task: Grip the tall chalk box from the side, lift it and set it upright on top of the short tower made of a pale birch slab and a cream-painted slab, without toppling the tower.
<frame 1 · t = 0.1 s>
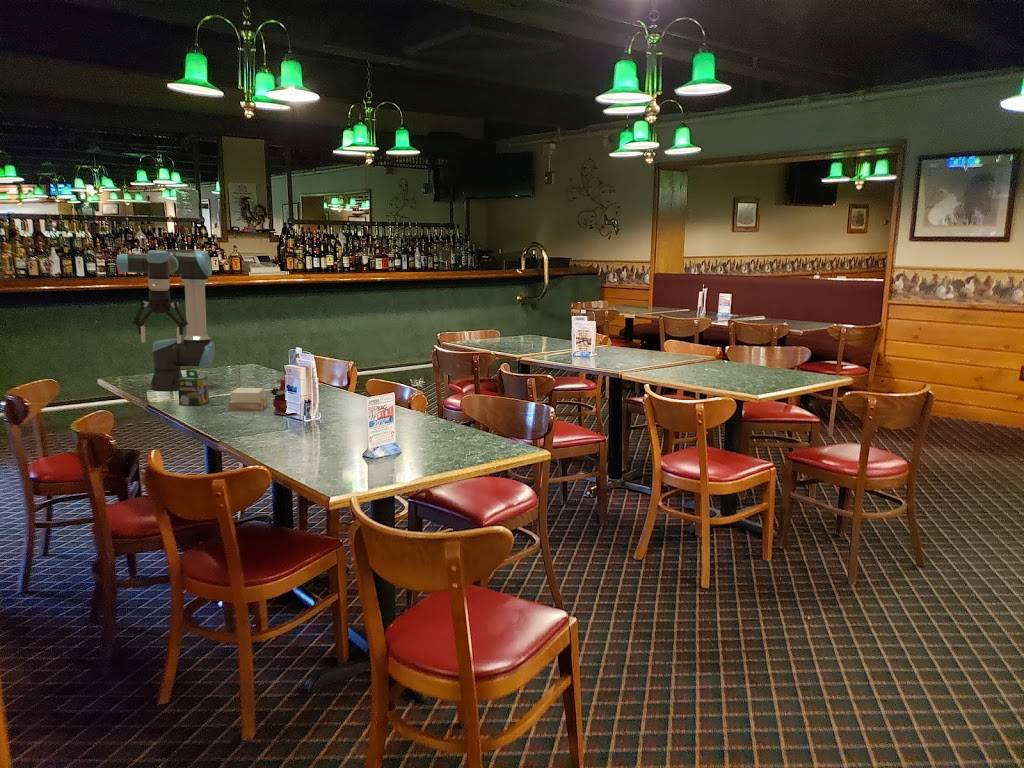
hand: (161, 342, 299), 28 cm above the table, tool pointing down, fingers open, 13 cm apart
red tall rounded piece: (285, 414, 305), on the table
chalk box: (194, 404, 318), on the table
tower base: (248, 409, 314), on the table, touching tower top
tower top: (247, 399, 313), point 3 cm above the table, touching tower base
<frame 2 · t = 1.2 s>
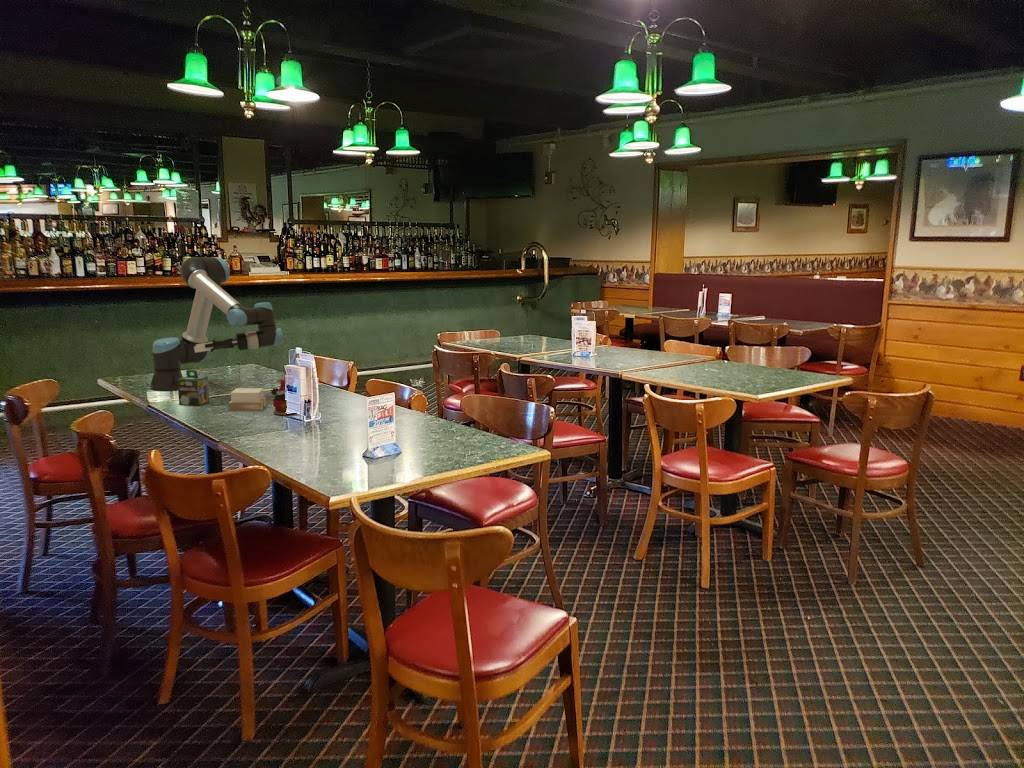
hand: (195, 348, 318), 23 cm above the table, tool horizontal, fingers open, 13 cm apart
nothing on the table moved.
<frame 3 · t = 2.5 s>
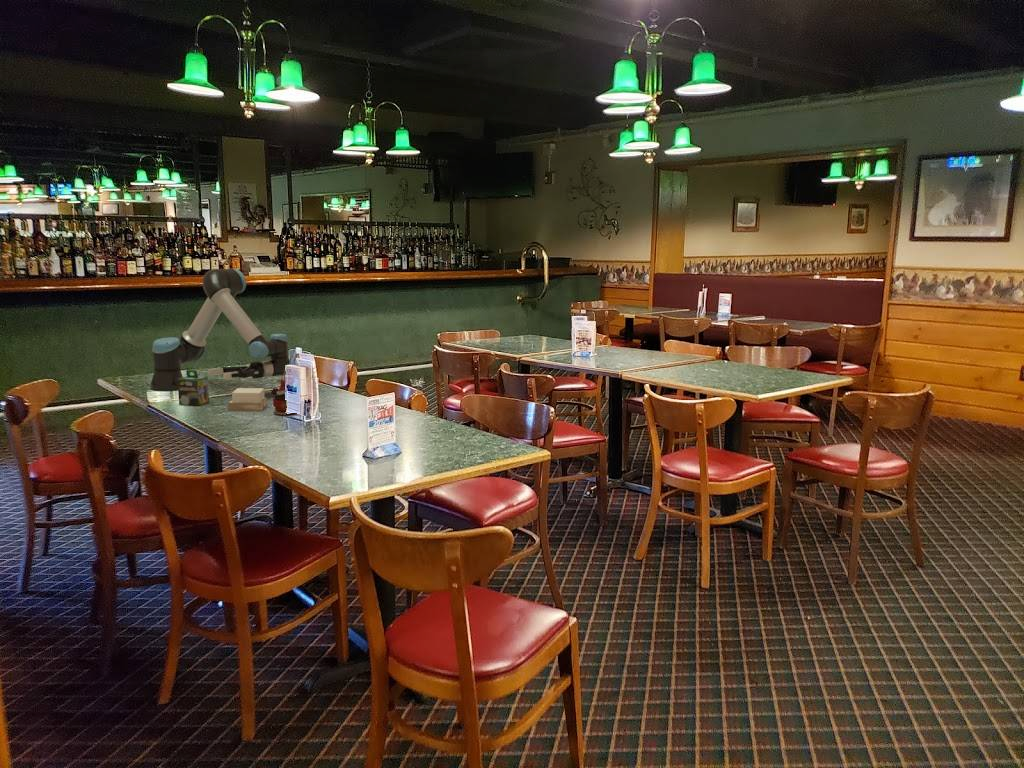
hand: (215, 374, 323), 12 cm above the table, tool horizontal, fingers open, 13 cm apart
tower base: (247, 409, 314), on the table
tower top: (248, 399, 313), point 3 cm above the table
everything else where it was.
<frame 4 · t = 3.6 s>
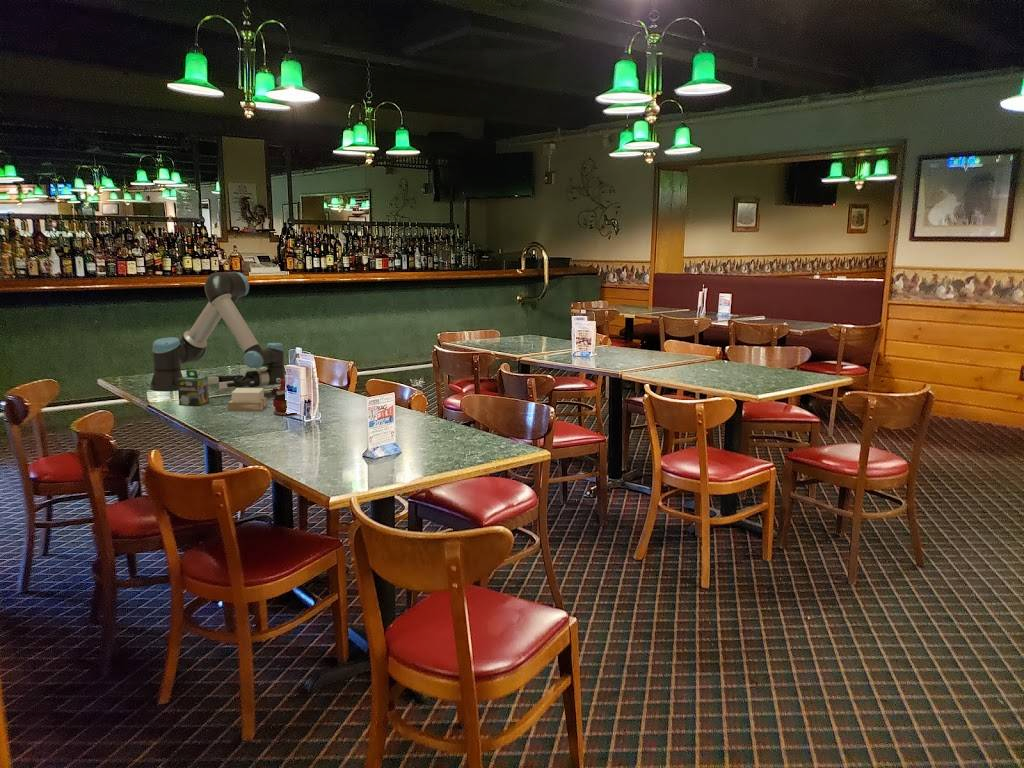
hand: (211, 383, 322), 8 cm above the table, tool horizontal, fingers open, 13 cm apart
nothing on the table moved.
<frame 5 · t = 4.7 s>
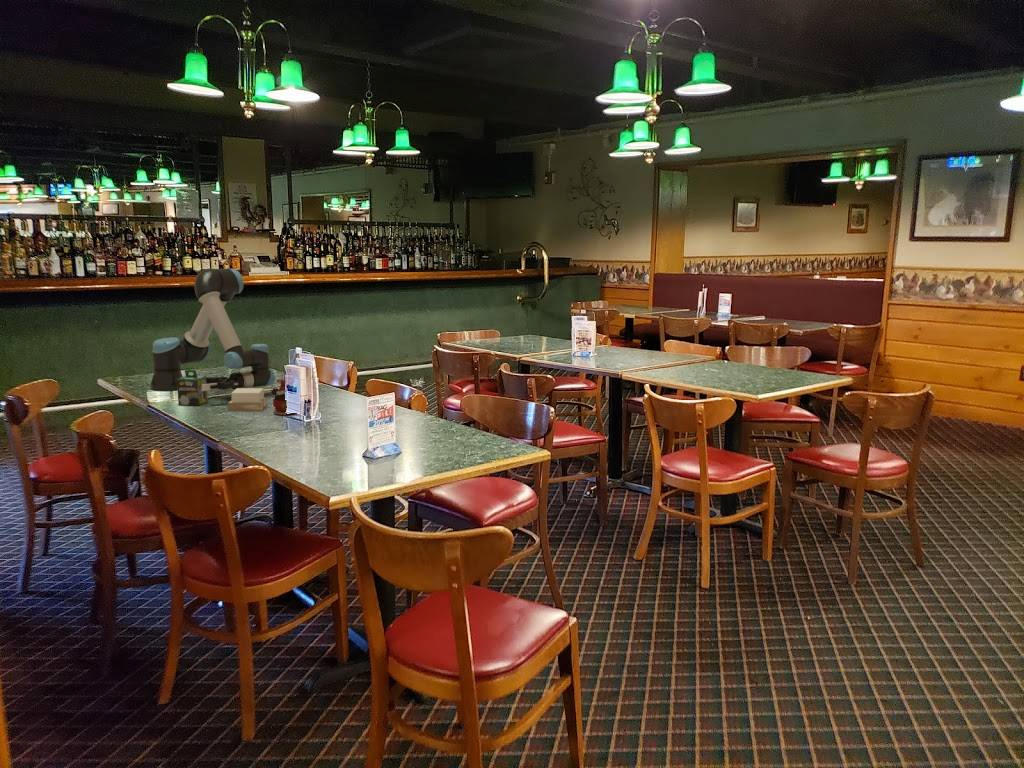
hand: (194, 385, 316), 8 cm above the table, tool horizontal, fingers open, 13 cm apart
chalk box: (193, 404, 318), on the table, touching gripper
everything else where it was.
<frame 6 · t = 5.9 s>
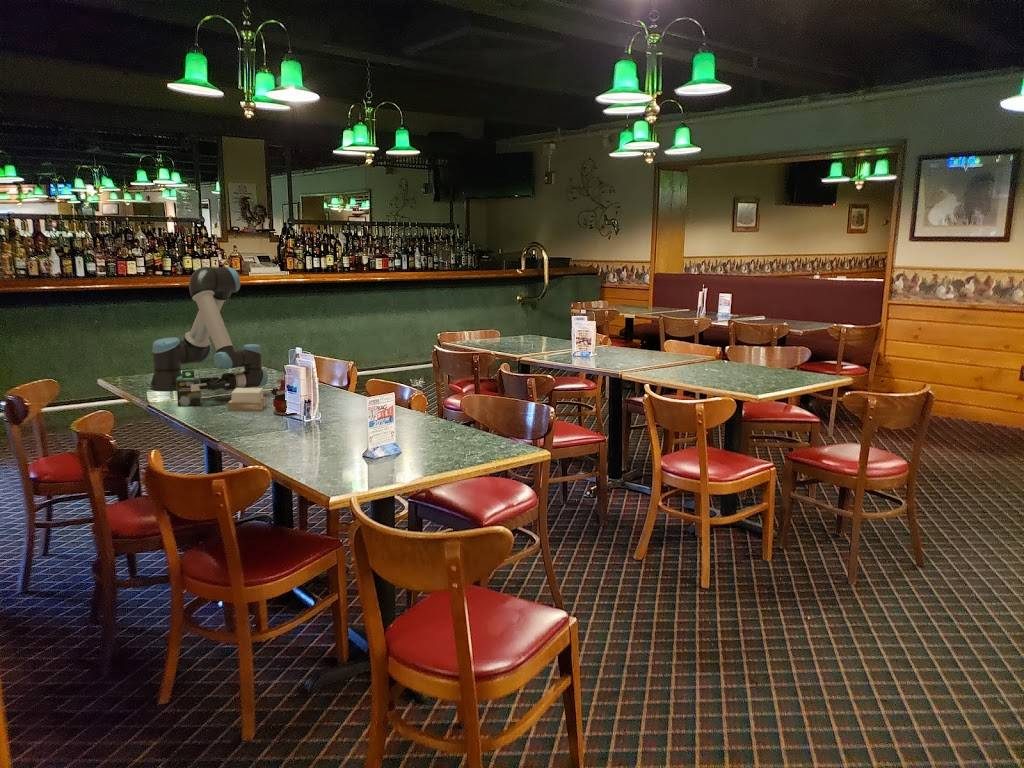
hand: (184, 386, 314), 8 cm above the table, tool horizontal, fingers closed on chalk box, 12 cm apart
chalk box: (189, 404, 317), on the table, touching gripper
tower base: (247, 408, 313), on the table, touching tower top
tower top: (247, 399, 313), point 4 cm above the table, touching tower base
everything else where it was.
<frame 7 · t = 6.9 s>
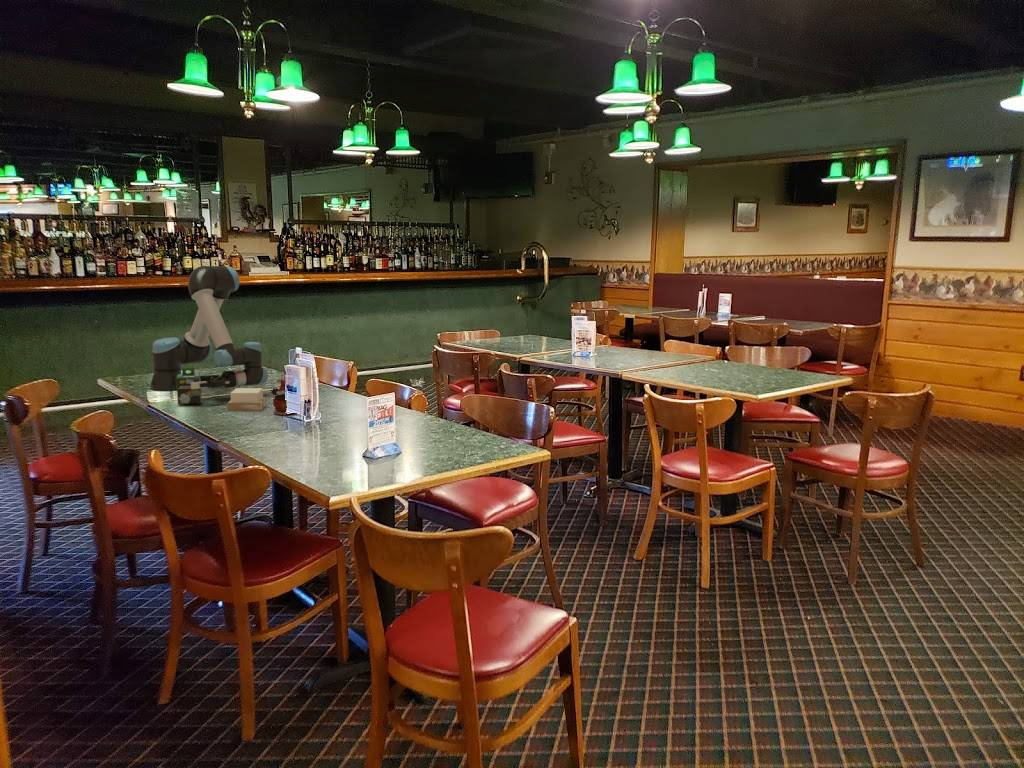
hand: (184, 383, 314), 9 cm above the table, tool horizontal, fingers closed on chalk box, 12 cm apart
chalk box: (189, 402, 317), point 1 cm above the table, touching gripper
when the fingers open (17 cm above the table, at t = 11.7 s): chalk box drops 2 cm, resting on tower top.
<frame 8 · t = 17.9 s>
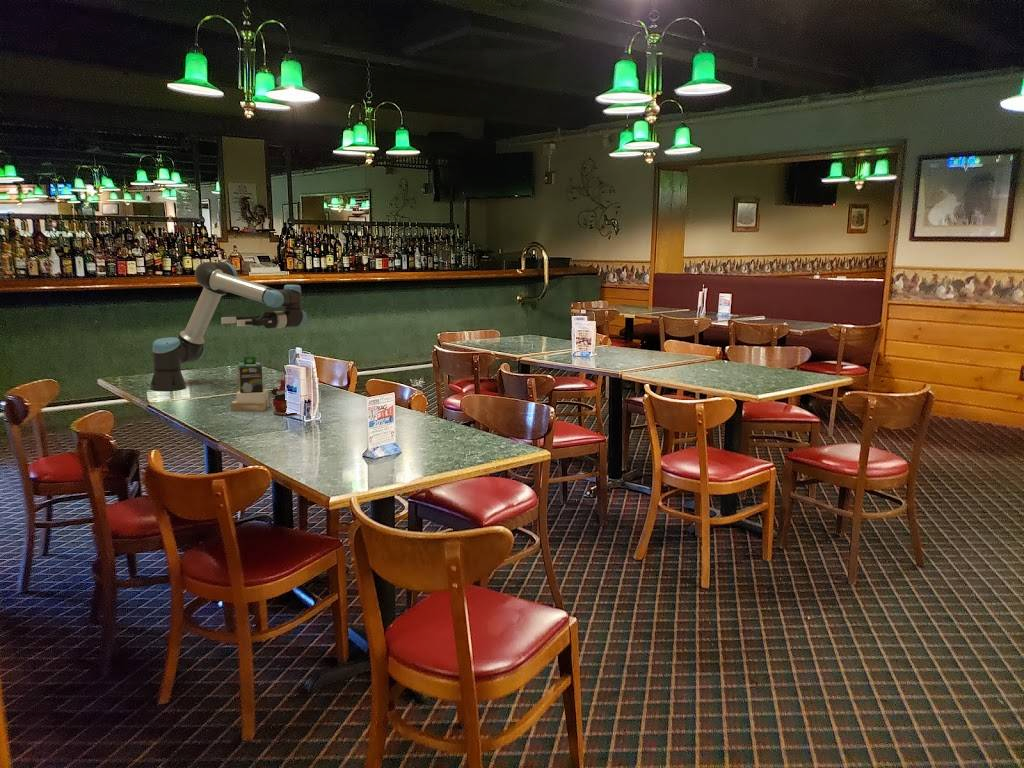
hand: (229, 321, 319), 35 cm above the table, tool horizontal, fingers open, 13 cm apart
chalk box: (250, 391, 312), point 7 cm above the table, touching tower top
tower base: (250, 409, 313), on the table, touching tower top
tower top: (252, 400, 313), point 3 cm above the table, touching chalk box, tower base
everything else where it was.
at the end: chalk box inside the target area on the tower top (0.7 cm from its centre), point 3.8 cm above the tower top's base; tower top 0.7 cm from the tower base (horizontally); chalk box tilted 0° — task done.
